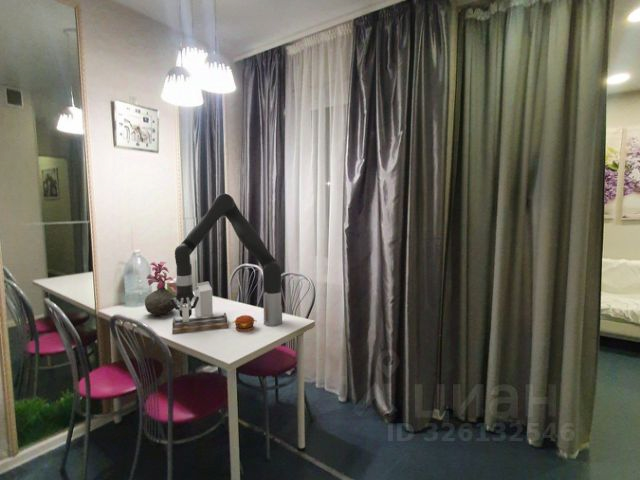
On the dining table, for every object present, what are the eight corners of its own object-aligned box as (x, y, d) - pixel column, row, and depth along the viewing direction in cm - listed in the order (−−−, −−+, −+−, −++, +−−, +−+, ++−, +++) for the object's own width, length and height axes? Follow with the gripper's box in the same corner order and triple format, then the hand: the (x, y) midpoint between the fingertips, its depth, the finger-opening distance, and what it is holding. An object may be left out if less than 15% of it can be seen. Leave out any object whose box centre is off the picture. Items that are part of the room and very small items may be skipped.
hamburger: (231, 329, 166) (231, 317, 165) (244, 324, 174) (244, 312, 173) (244, 333, 161) (244, 320, 160) (258, 327, 169) (258, 315, 169)
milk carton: (212, 315, 187) (212, 282, 185) (201, 318, 182) (200, 284, 180) (206, 312, 192) (205, 280, 190) (194, 315, 187) (193, 282, 185)
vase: (148, 311, 193) (146, 260, 190) (180, 308, 198) (178, 259, 195) (142, 320, 177) (140, 265, 174) (177, 317, 183) (175, 264, 179)
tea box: (175, 298, 219) (174, 276, 217) (191, 298, 220) (190, 276, 218) (167, 305, 204) (166, 282, 202) (184, 305, 205) (183, 281, 204)
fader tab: (189, 321, 171) (188, 304, 170) (189, 324, 166) (188, 307, 165) (183, 322, 170) (182, 305, 169) (182, 325, 165) (182, 307, 164)
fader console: (225, 318, 182) (225, 310, 181) (227, 327, 169) (227, 319, 168) (174, 324, 173) (173, 315, 172) (172, 334, 160) (171, 325, 159)
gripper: (199, 280, 172) (200, 313, 174) (169, 282, 167) (171, 315, 169) (199, 284, 165) (200, 317, 167) (168, 286, 160) (170, 320, 162)
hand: (185, 316), depth 168 cm, fingers closed on fader tab, 3 cm apart
